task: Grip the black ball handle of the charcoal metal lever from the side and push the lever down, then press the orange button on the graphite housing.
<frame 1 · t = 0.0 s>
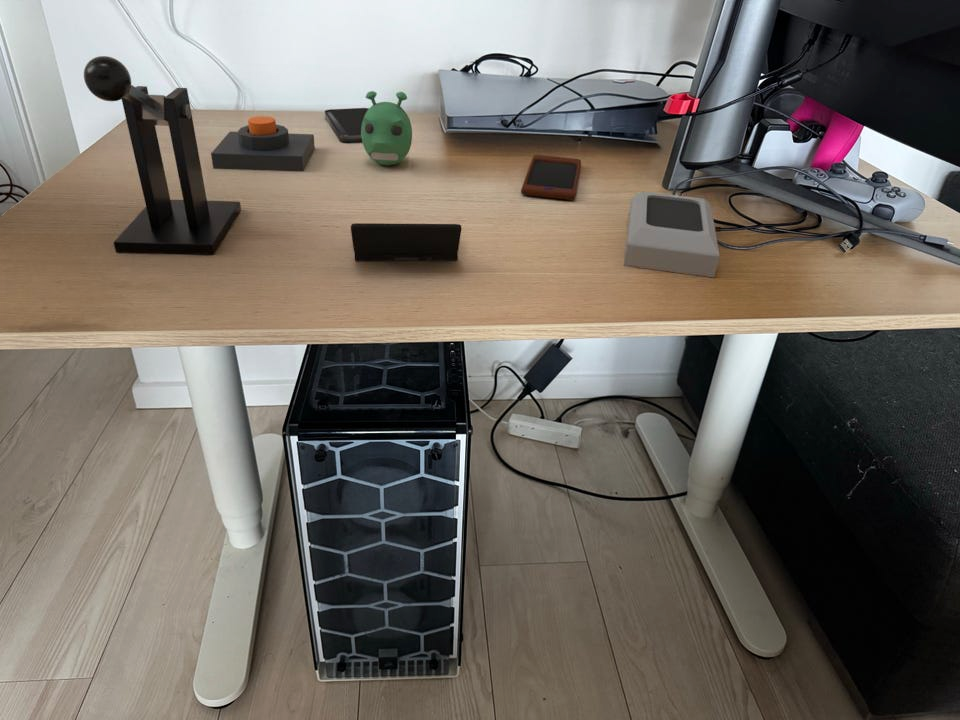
button: (262, 126, 97), point 5 cm above the table, slide at 0.2 cm
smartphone: (552, 180, 98), on the table
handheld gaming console: (406, 257, 76), on the table
grey tapered block: (667, 244, 82), on the table
button box: (266, 158, 99), on the table
alien toy: (387, 166, 100), on the table
lever: (134, 95, 66), point 16 cm above the table, hinge at 28.0°
bracket: (182, 230, 78), on the table
phone: (356, 129, 113), on the table
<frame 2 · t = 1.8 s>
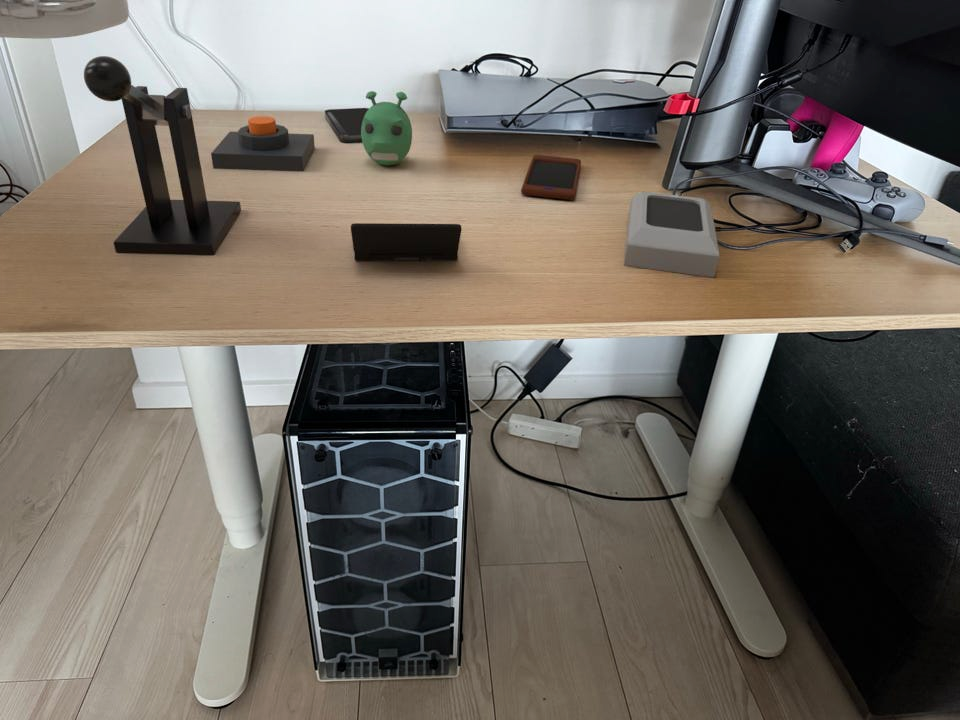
nothing on the table moved.
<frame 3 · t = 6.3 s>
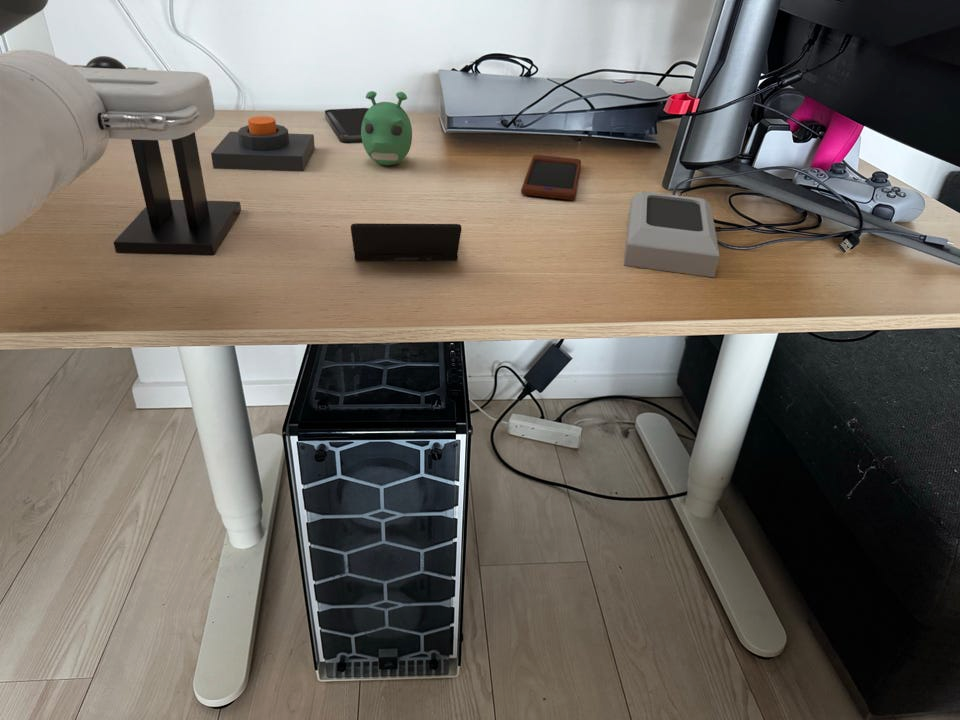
hand: (111, 76, 61), 18 cm above the table, tool horizontal, fingers closed on lever, 3 cm apart
lever: (134, 95, 66), point 16 cm above the table, hinge at 28.0°, touching gripper
everything else where it was.
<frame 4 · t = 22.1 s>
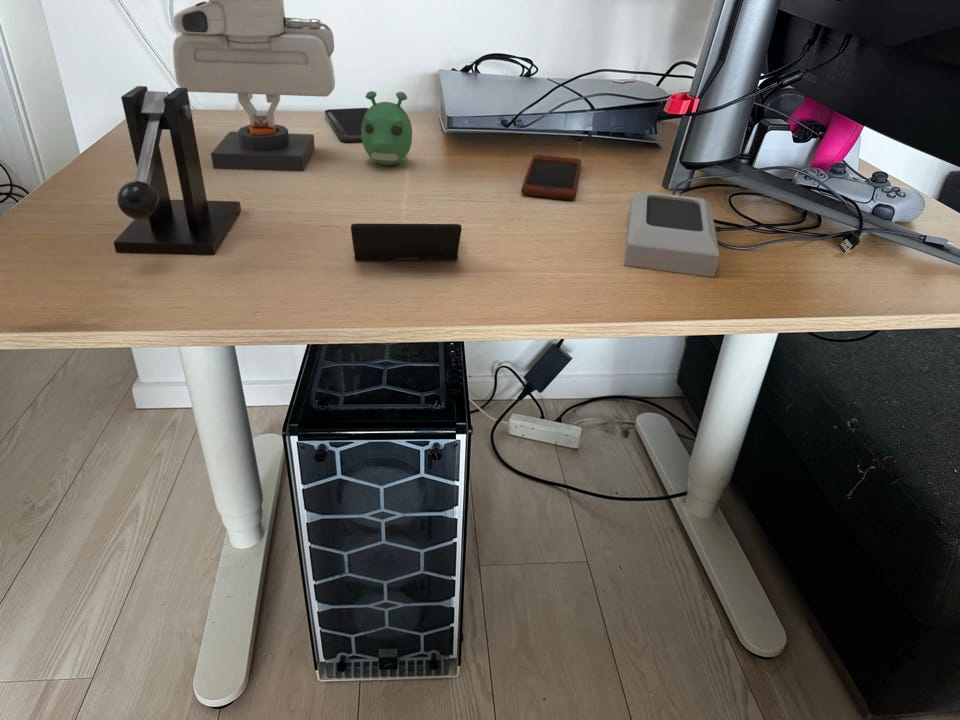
hand: (263, 126, 97), 4 cm above the table, tool pointing down, fingers closed, pressing on button
button: (263, 133, 97), point 4 cm above the table, slide at -0.8 cm, touching gripper
lever: (148, 155, 69), point 10 cm above the table, hinge at -32.3°
everything else where it was.
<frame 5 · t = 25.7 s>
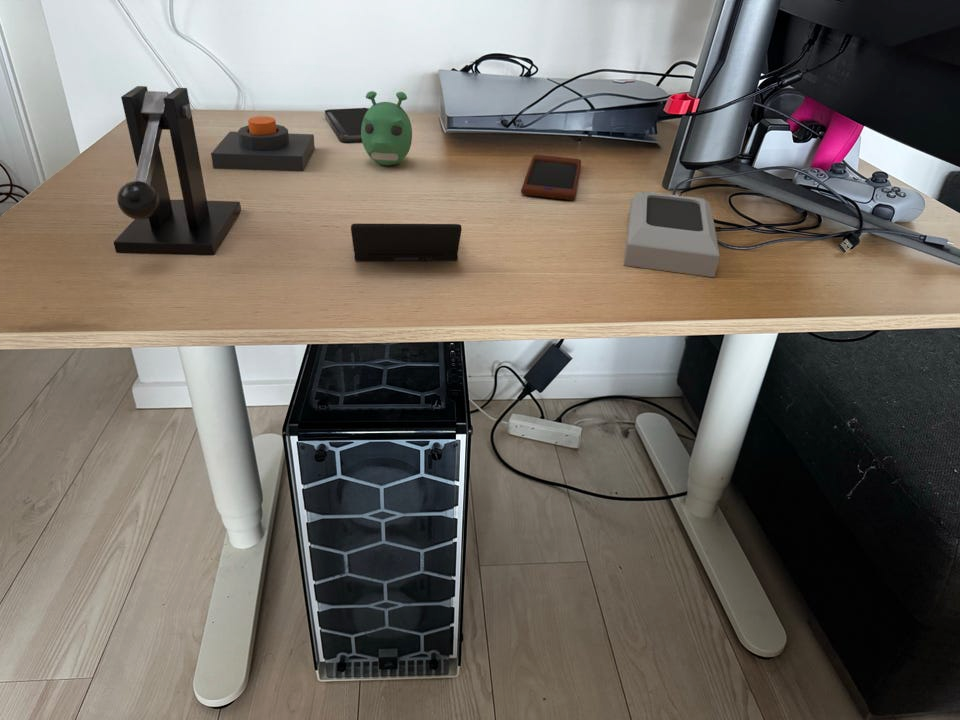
button: (262, 126, 97), point 5 cm above the table, slide at 0.1 cm
everything else where it was.
at the end: lever at -32° (first picture: +28°); button pushed in 1.0 cm at the most during the clip, back to where it started at the end; button slide at 0.1 cm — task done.
